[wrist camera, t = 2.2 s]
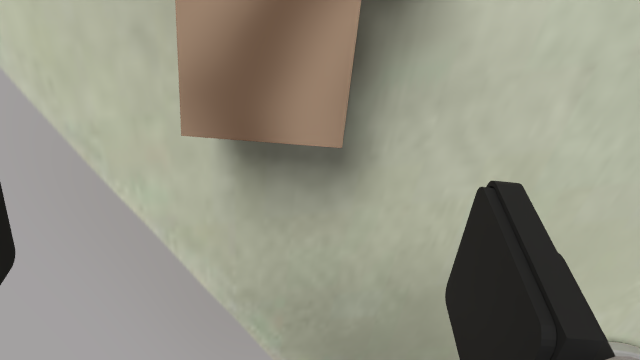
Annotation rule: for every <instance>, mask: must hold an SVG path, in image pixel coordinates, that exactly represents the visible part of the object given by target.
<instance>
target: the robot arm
mask: <svg viewBox="0 0 640 360" xmlns="http://www.w3.org/2000/svg"><path fill="white" fill-rule="evenodd" d="M14 259H15V247H14V242H13V238H12V233H11V228H10V224H9V219H8V215H7V210H6V206H5V201H4V197H3V192H2V188H1V184H0V285H1V283H2V282H3V280H4V279H5V277H6V276H7V274H8V272H9V271H10V269H11V268H12V266H13V263H14ZM445 298H446V306H447V310H448V314H449V318H450V322H451V326H452V330H453V334H454V338H455V342H456V346H457V350H458V354H459V357H460V360H640V348H639V347H637V346H633V345H629V344H625V343H619V342H608V341H607V339H606V337H605V335H604V333H603V331H602V329H601V328H600V326H599V324H598V322H597V320H596V318H595V316H594V314H593V312H592V311H591V309H590V307H589V305H588V303H587V301H586V299H585V297H584V296H583V294H582V292H581V290H580V288H579V286H578V284H577V282H576V281H575V279H574V277H573V275H572V273H571V271H570V269H569V267H568V265H567V264H566V262H565V260H564V258H563V257H562V256H561V254H559V253H558V252H557V250H556V249H555V247H554V245H553V243H552V241H551V239H550V237H549V235H548V233H547V231H546V230H545V228H544V226H543V224H542V222H541V220H540V218H539V216H538V214H537V212H536V210H535V209H534V207H533V205H532V203H531V201H530V199H529V197H528V195H527V193H526V191H525V190H524V188H523V186H522V185H521V184H519V183H511V182H501V181H490V182H489V183H488V185H487V187H480V188H479V189H478V190H477V193H476V196H475V199H474V202H473V205H472V208H471V211H470V214H469V218H468V221H467V224H466V227H465V230H464V233H463V236H462V239H461V243H460V246H459V249H458V252H457V255H456V258H455V261H454V264H453V268H452V271H451V274H450V277H449V280H448V283H447V287H446V295H445Z"/></svg>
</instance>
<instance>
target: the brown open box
mask: <svg viewBox="0 0 640 360" xmlns="http://www.w3.org/2000/svg"><path fill="white" fill-rule="evenodd" d="M175 3H176V26H177V48H178V70H179V92H180V115H181V136H192V137H205V138H218V139H231V140H244V141H257V142H270V143H283V144H296V145H309V146H322V147H335V148H342V144H343V136H344V128H345V121H346V113H347V105H348V98H349V90H350V82H351V75H352V67H353V59H354V52H355V44H356V37H357V29H358V21H359V14H360V6H361V0H175Z"/></svg>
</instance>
